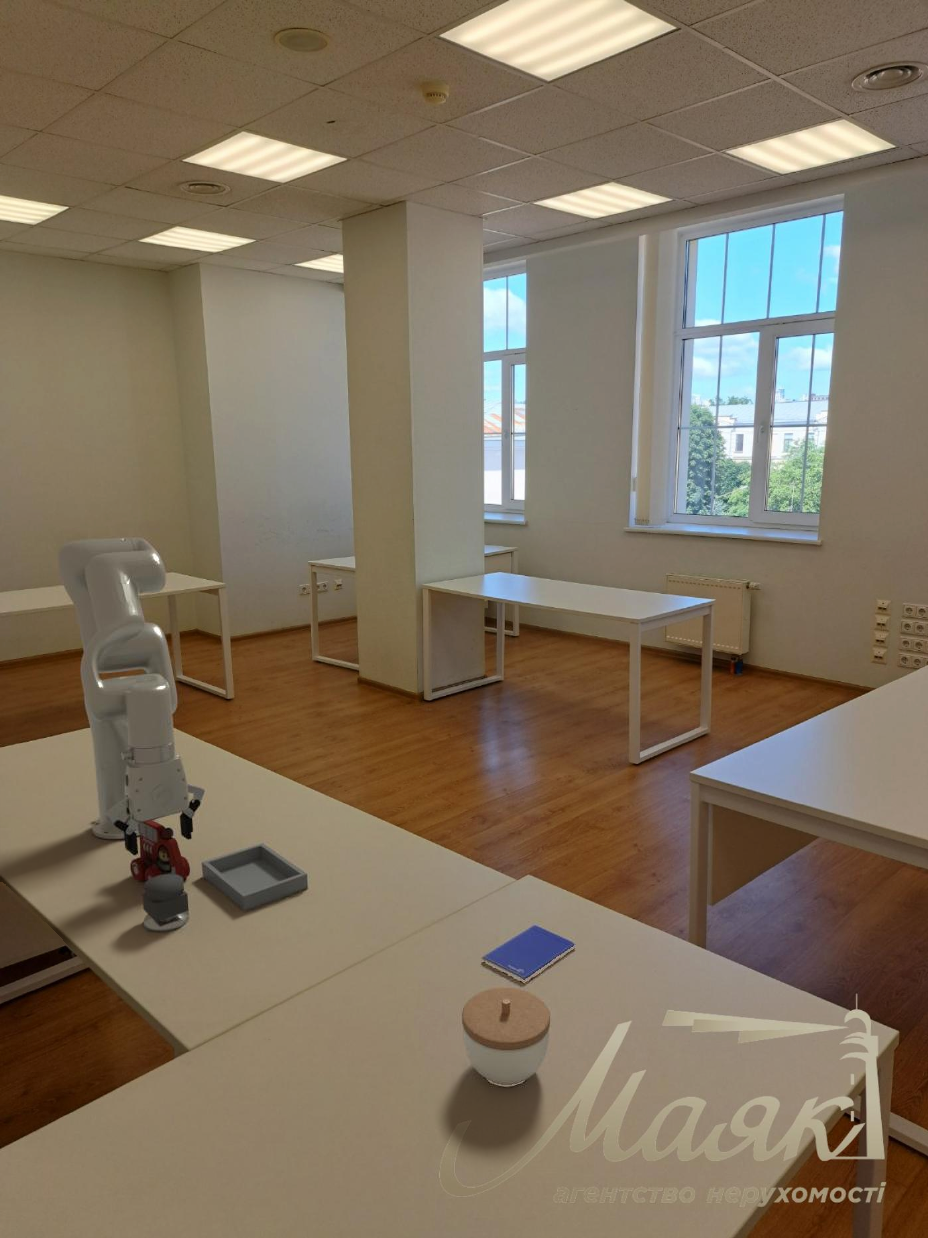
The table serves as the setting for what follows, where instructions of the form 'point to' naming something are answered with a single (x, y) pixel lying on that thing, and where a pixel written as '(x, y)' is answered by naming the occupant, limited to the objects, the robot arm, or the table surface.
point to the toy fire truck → (158, 853)
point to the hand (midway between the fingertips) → (160, 845)
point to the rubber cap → (165, 897)
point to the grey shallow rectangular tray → (254, 876)
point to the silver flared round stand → (166, 923)
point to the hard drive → (528, 952)
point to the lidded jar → (506, 1034)
